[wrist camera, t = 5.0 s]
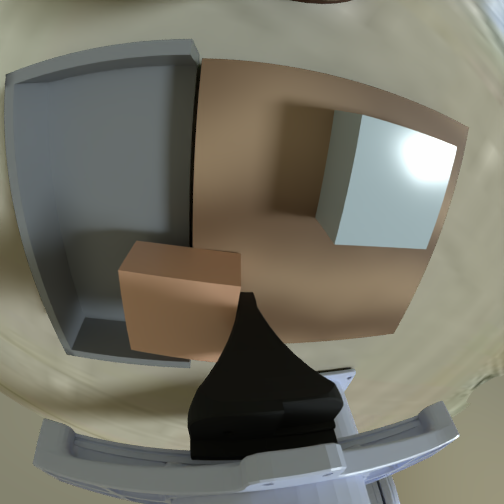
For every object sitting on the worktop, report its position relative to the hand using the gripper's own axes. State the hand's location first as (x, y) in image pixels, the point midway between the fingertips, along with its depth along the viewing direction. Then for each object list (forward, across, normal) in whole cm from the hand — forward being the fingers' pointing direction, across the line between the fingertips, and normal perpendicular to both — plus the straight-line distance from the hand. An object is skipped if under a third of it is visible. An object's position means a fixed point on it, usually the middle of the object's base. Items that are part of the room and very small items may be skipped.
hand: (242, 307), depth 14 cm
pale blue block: (+1, -6, -7) cm, 9 cm away
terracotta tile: (+1, +3, 0) cm, 3 cm away
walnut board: (+3, -5, -4) cm, 7 cm away
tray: (+3, +7, -3) cm, 8 cm away
